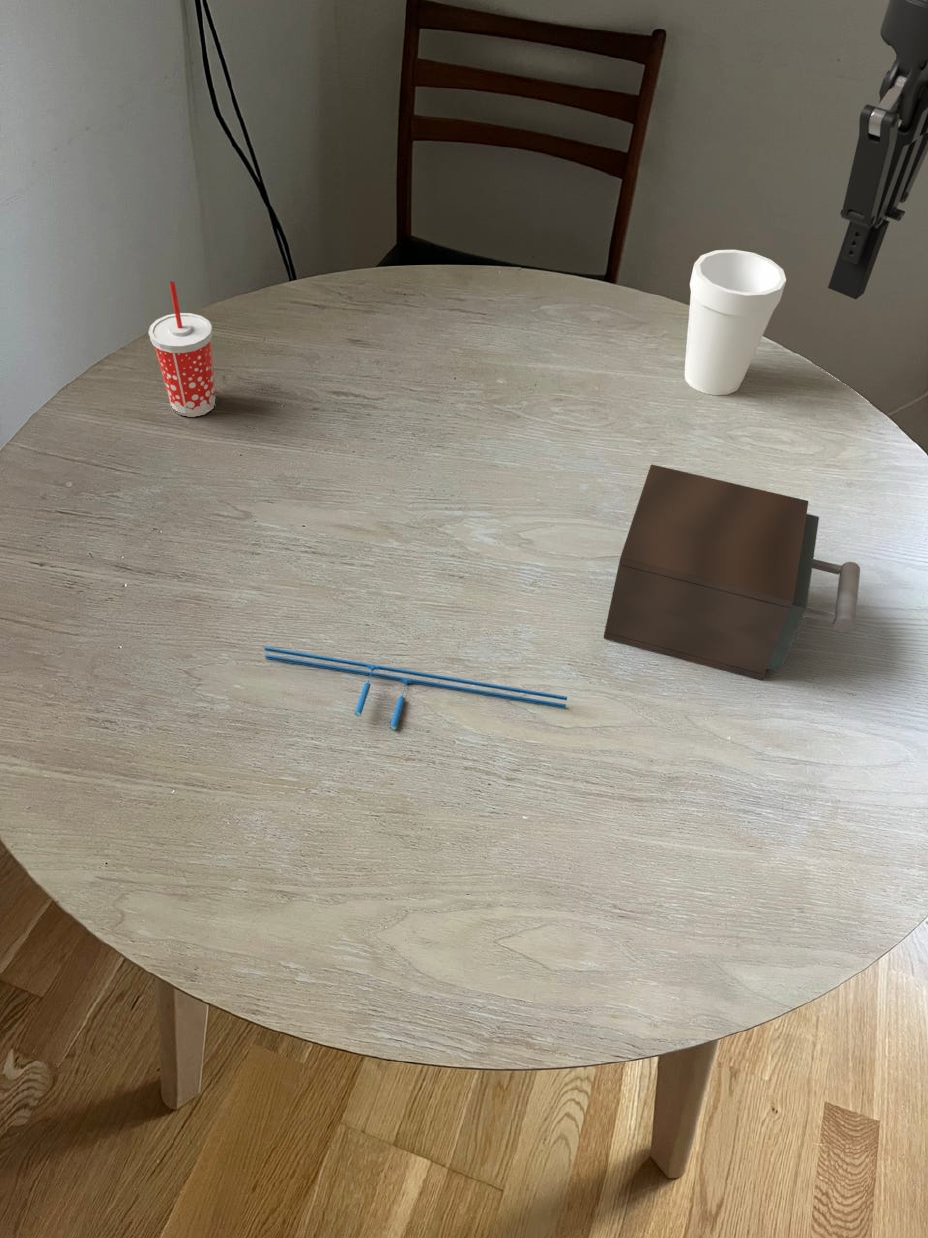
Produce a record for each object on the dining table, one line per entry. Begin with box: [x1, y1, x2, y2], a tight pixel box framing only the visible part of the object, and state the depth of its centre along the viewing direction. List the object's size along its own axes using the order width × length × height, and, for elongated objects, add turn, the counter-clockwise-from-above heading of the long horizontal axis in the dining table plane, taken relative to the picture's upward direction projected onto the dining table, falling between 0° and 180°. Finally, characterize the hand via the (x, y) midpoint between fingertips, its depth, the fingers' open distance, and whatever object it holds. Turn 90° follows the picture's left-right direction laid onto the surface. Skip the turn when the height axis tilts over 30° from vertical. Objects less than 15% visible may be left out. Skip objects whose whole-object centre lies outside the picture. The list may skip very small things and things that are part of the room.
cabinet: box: [603, 463, 809, 681], centre depth 89 cm, size 14×13×10 cm
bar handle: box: [263, 646, 568, 731], centre depth 83 cm, size 1×25×5 cm
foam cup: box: [684, 249, 787, 396], centre depth 112 cm, size 10×9×13 cm
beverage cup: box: [148, 280, 217, 413], centre depth 104 cm, size 6×6×14 cm
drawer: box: [766, 513, 861, 673], centre depth 88 cm, size 17×11×8 cm
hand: (845, 290), depth 90 cm, fingers closed
